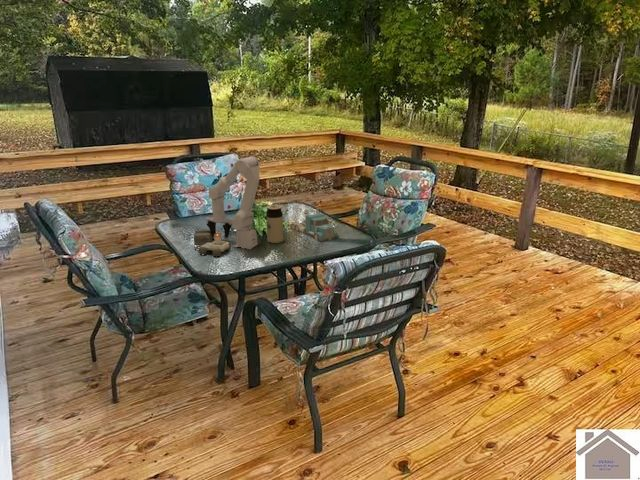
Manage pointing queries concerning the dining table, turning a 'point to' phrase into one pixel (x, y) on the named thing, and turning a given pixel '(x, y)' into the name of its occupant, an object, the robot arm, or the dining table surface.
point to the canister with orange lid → (218, 239)
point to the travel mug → (274, 224)
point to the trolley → (214, 248)
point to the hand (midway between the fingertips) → (220, 236)
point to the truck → (316, 227)
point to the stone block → (202, 237)
